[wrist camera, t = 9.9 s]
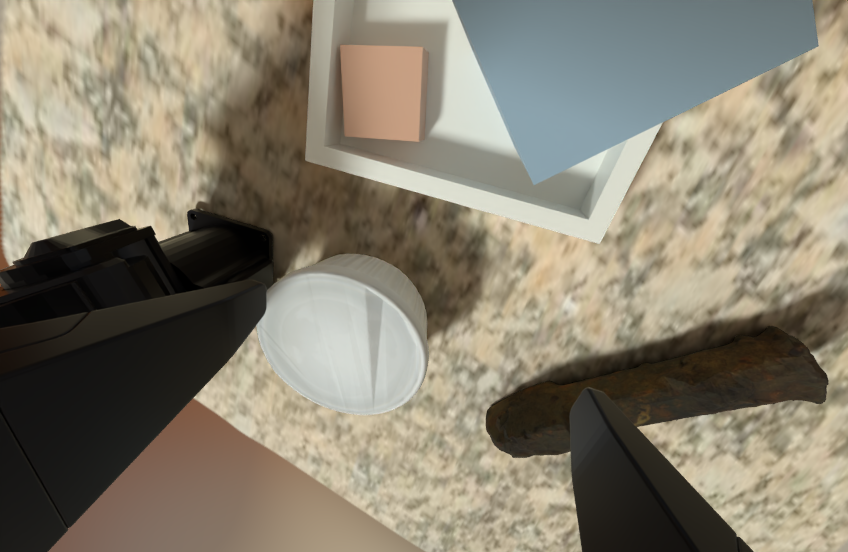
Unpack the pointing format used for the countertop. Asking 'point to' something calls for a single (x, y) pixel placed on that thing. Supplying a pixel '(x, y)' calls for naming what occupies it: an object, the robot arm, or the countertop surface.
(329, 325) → the ramekin
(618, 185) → the tray
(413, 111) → the terracotta tile
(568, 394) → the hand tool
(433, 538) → the countertop surface
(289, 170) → the countertop surface
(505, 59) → the blue block
